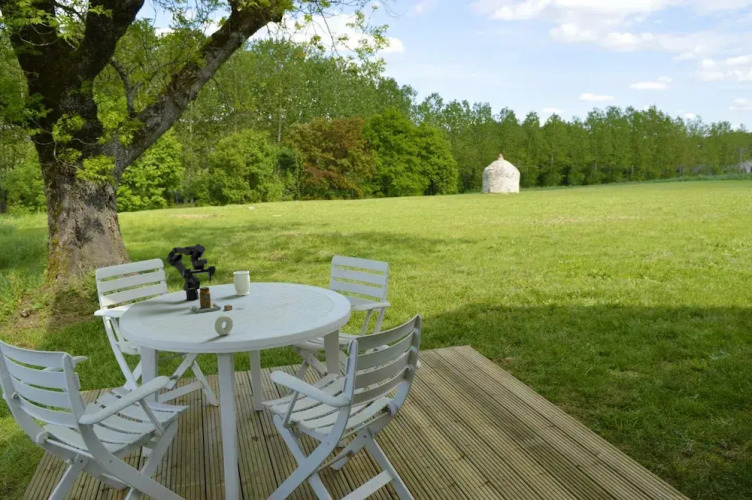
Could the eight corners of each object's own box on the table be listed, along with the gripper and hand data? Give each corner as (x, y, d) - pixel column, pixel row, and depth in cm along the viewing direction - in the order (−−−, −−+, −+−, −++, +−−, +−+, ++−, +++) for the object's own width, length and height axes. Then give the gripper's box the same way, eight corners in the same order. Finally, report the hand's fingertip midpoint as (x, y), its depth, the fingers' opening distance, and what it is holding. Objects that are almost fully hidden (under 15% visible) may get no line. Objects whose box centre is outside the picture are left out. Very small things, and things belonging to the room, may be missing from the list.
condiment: (212, 306, 330) (210, 286, 328) (211, 309, 322) (210, 288, 320) (199, 307, 328) (197, 287, 327) (198, 310, 320) (196, 290, 318)
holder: (192, 309, 327) (192, 306, 327) (214, 305, 333) (214, 302, 333) (197, 313, 316) (197, 310, 316) (220, 309, 322) (220, 306, 322)
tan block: (224, 309, 323) (224, 305, 322) (229, 308, 325) (228, 304, 324) (227, 310, 320) (227, 306, 319) (232, 309, 322) (232, 305, 321)
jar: (248, 296, 358) (247, 273, 356) (232, 296, 358) (231, 273, 356) (252, 292, 368) (251, 270, 367) (237, 293, 369) (235, 270, 367)
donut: (218, 338, 265) (216, 317, 263) (213, 336, 267) (212, 316, 265) (235, 332, 272) (233, 313, 271) (230, 331, 275) (229, 312, 273)
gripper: (182, 256, 332) (188, 276, 324) (213, 252, 342) (220, 272, 334) (180, 267, 340) (186, 287, 332) (211, 264, 350) (217, 283, 342)
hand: (202, 282), depth 335 cm, fingers open, 9 cm apart
